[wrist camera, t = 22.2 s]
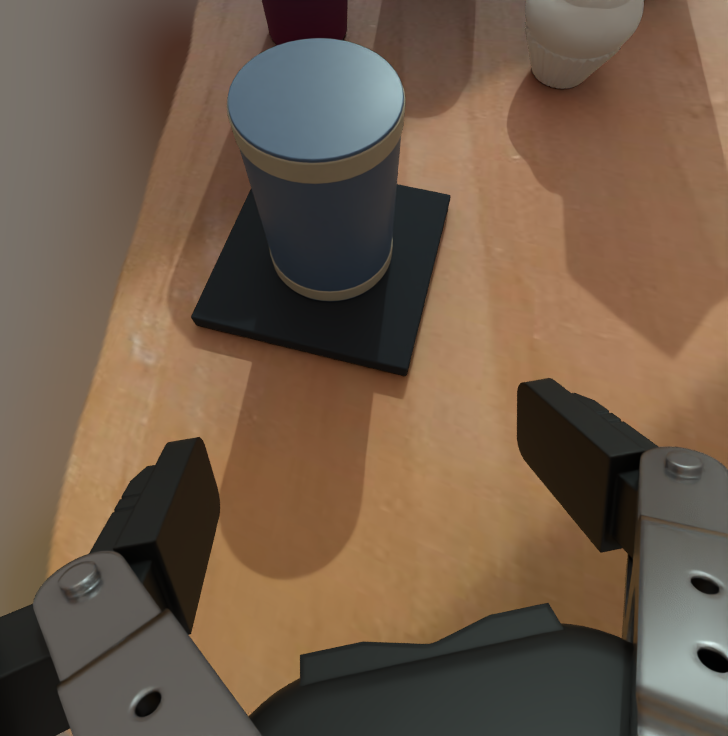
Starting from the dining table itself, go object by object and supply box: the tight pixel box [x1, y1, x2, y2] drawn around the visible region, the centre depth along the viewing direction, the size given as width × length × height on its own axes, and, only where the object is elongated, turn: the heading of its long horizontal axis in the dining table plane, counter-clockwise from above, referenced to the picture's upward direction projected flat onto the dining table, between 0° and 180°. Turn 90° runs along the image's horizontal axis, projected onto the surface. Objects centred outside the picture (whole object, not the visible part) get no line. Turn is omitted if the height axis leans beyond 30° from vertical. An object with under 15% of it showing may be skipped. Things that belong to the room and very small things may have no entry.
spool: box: [227, 38, 405, 302], centre depth 18 cm, size 6×6×8 cm
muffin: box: [525, 0, 644, 89], centre depth 25 cm, size 6×6×7 cm
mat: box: [191, 184, 451, 376], centre depth 22 cm, size 10×10×1 cm
